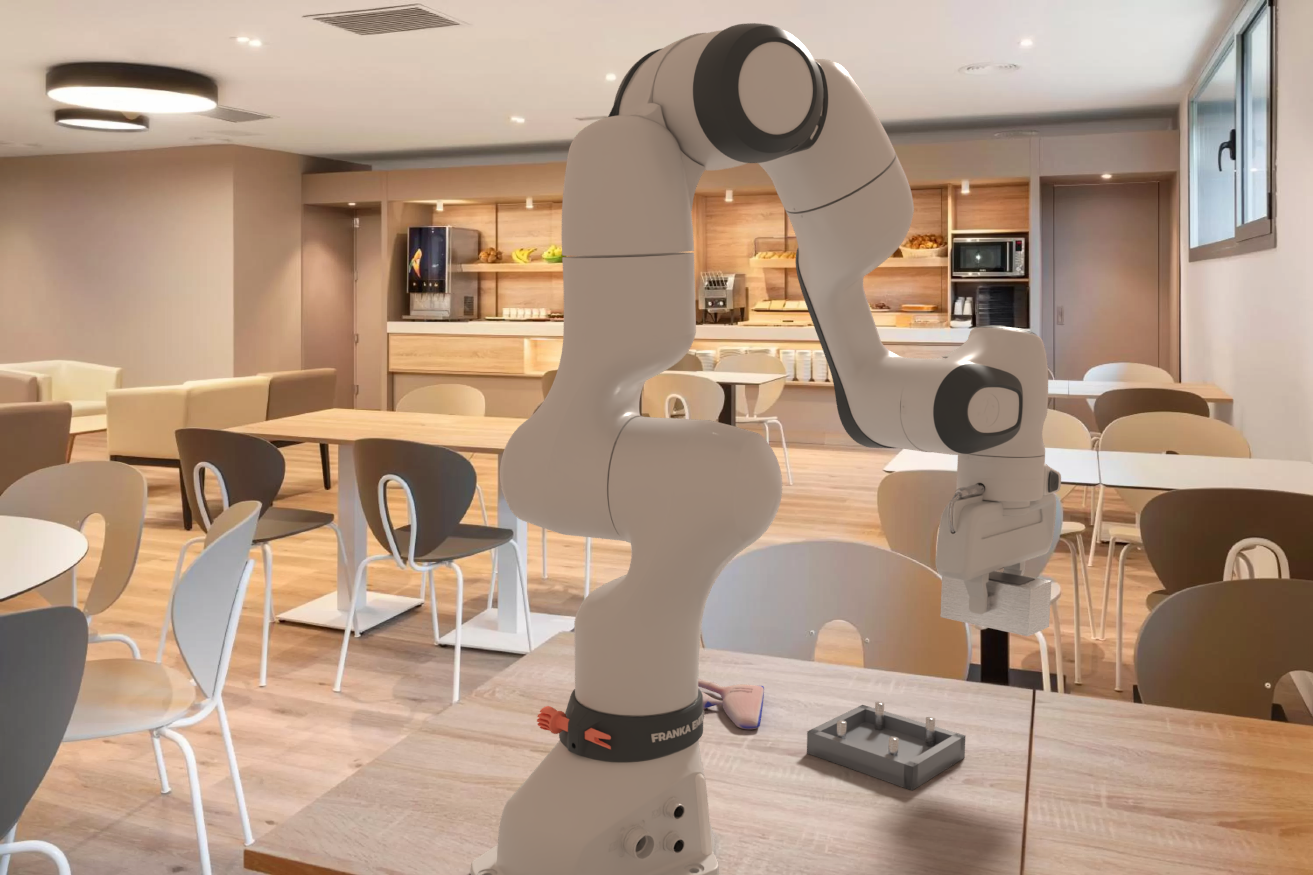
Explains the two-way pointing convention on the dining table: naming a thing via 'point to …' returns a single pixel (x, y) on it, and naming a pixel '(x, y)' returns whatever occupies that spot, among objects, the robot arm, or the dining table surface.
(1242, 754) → the dining table surface
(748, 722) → the anatomical model
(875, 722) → the pin tray
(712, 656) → the dining table surface
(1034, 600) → the block
